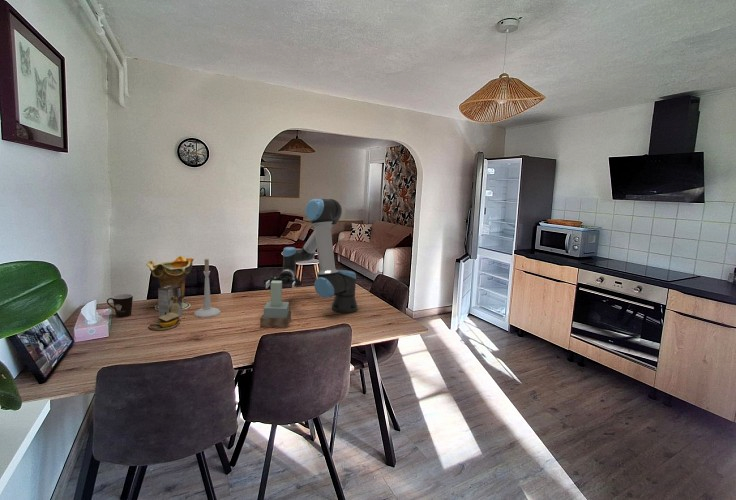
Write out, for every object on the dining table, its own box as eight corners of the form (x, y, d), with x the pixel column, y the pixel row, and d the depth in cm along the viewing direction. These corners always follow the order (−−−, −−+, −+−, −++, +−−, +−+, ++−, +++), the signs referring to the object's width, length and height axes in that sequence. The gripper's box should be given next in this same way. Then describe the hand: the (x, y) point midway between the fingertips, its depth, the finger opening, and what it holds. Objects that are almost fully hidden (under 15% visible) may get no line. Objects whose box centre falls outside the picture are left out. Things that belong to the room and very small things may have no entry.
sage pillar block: (281, 303, 186) (282, 280, 184) (280, 306, 181) (280, 283, 179) (271, 303, 185) (272, 280, 184) (270, 306, 180) (270, 282, 179)
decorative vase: (138, 308, 192) (139, 256, 189) (175, 299, 213) (176, 253, 210) (166, 315, 185) (167, 261, 182) (202, 306, 206) (203, 257, 203)
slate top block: (288, 311, 190) (289, 302, 189) (286, 318, 179) (286, 308, 178) (267, 310, 188) (267, 301, 188) (263, 317, 178) (263, 308, 177)
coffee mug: (137, 314, 185) (136, 295, 183) (120, 319, 177) (119, 299, 175) (123, 310, 190) (122, 292, 188) (105, 314, 182) (104, 295, 180)
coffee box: (172, 313, 189) (171, 284, 186) (182, 315, 187) (182, 285, 185) (158, 319, 180) (157, 288, 178) (169, 321, 179) (168, 289, 176)
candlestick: (210, 318, 185) (209, 261, 180) (188, 315, 187) (187, 259, 183) (225, 311, 197) (224, 257, 193) (204, 308, 200) (203, 255, 195)
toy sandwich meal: (144, 326, 171) (143, 316, 170) (173, 319, 182) (173, 310, 181) (155, 333, 164) (155, 323, 163) (185, 326, 174) (185, 316, 173)
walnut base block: (290, 319, 191) (291, 310, 191) (286, 328, 179) (286, 319, 178) (266, 318, 191) (266, 309, 190) (260, 327, 178) (260, 318, 177)
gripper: (307, 284, 210) (303, 294, 189) (264, 282, 209) (255, 292, 188) (308, 271, 209) (303, 280, 188) (264, 269, 208) (255, 278, 187)
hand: (279, 286), depth 188 cm, fingers open, 13 cm apart
